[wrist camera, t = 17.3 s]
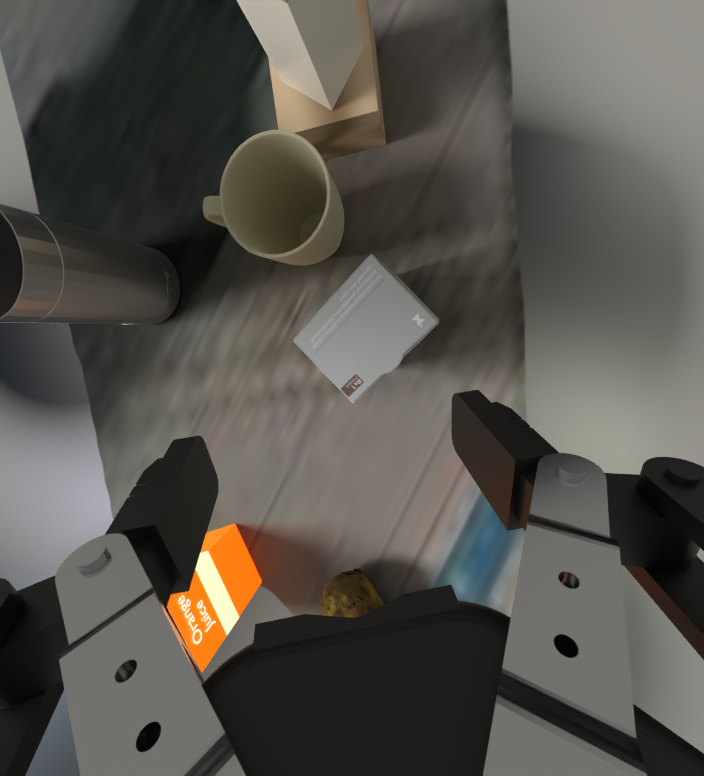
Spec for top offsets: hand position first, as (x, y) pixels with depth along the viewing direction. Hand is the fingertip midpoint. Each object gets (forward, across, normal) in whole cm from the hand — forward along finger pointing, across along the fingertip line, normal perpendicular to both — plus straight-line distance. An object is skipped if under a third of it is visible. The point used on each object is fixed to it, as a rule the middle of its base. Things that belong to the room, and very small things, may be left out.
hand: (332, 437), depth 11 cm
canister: (+30, -4, -18) cm, 35 cm away
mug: (+33, -1, -4) cm, 33 cm away
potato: (+18, 0, +37) cm, 41 cm away
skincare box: (+27, -8, +6) cm, 29 cm away
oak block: (+35, -6, -16) cm, 39 cm away
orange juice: (+25, +17, +34) cm, 46 cm away
